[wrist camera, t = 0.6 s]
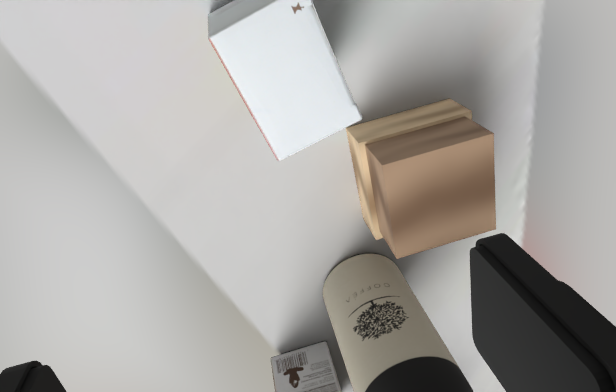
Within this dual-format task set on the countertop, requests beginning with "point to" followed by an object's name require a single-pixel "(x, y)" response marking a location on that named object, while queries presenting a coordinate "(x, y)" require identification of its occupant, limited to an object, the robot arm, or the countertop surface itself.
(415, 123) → the oak slab
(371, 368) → the travel mug
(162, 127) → the countertop surface
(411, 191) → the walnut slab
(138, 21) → the countertop surface
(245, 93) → the small box
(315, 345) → the coffee box
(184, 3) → the countertop surface
